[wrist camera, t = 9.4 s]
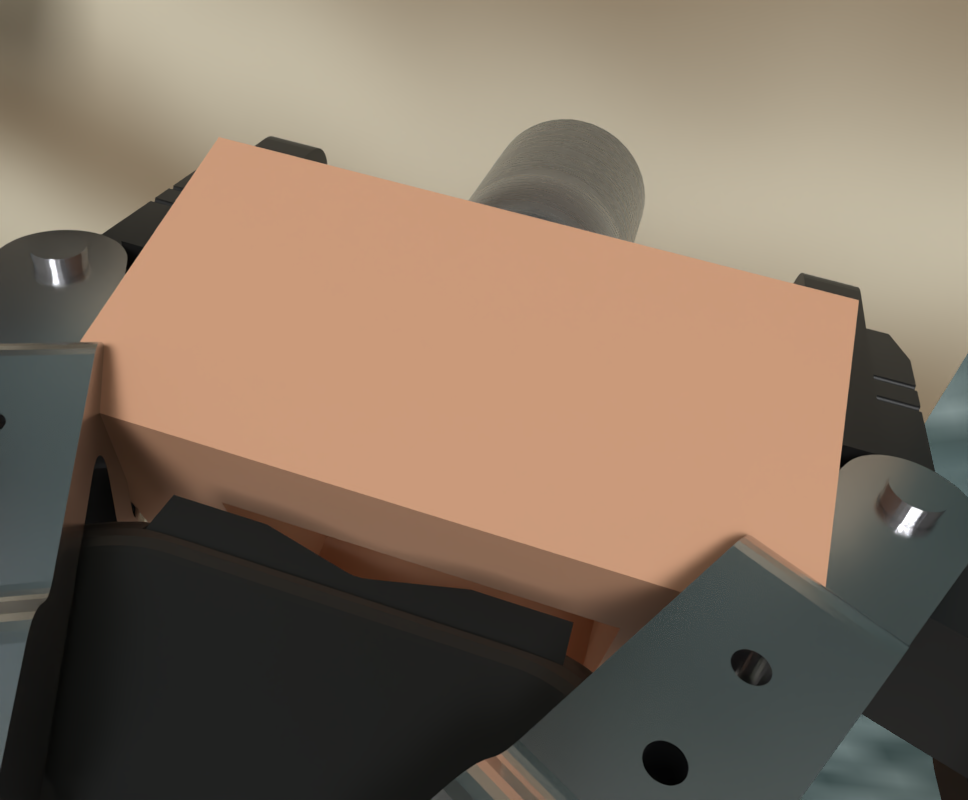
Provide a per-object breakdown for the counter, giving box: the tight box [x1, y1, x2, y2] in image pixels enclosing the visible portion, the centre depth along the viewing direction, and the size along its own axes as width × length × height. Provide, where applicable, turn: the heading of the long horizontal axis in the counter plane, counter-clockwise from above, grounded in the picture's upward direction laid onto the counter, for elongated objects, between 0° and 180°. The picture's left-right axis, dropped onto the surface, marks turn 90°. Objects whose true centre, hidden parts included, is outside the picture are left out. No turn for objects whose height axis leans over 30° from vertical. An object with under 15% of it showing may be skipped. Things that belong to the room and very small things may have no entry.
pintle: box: [468, 119, 645, 243], centre depth 11 cm, size 2×2×5 cm
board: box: [0, 0, 968, 522], centre depth 15 cm, size 19×21×1 cm
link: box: [80, 137, 859, 672], centre depth 13 cm, size 15×6×3 cm, turn 172°
